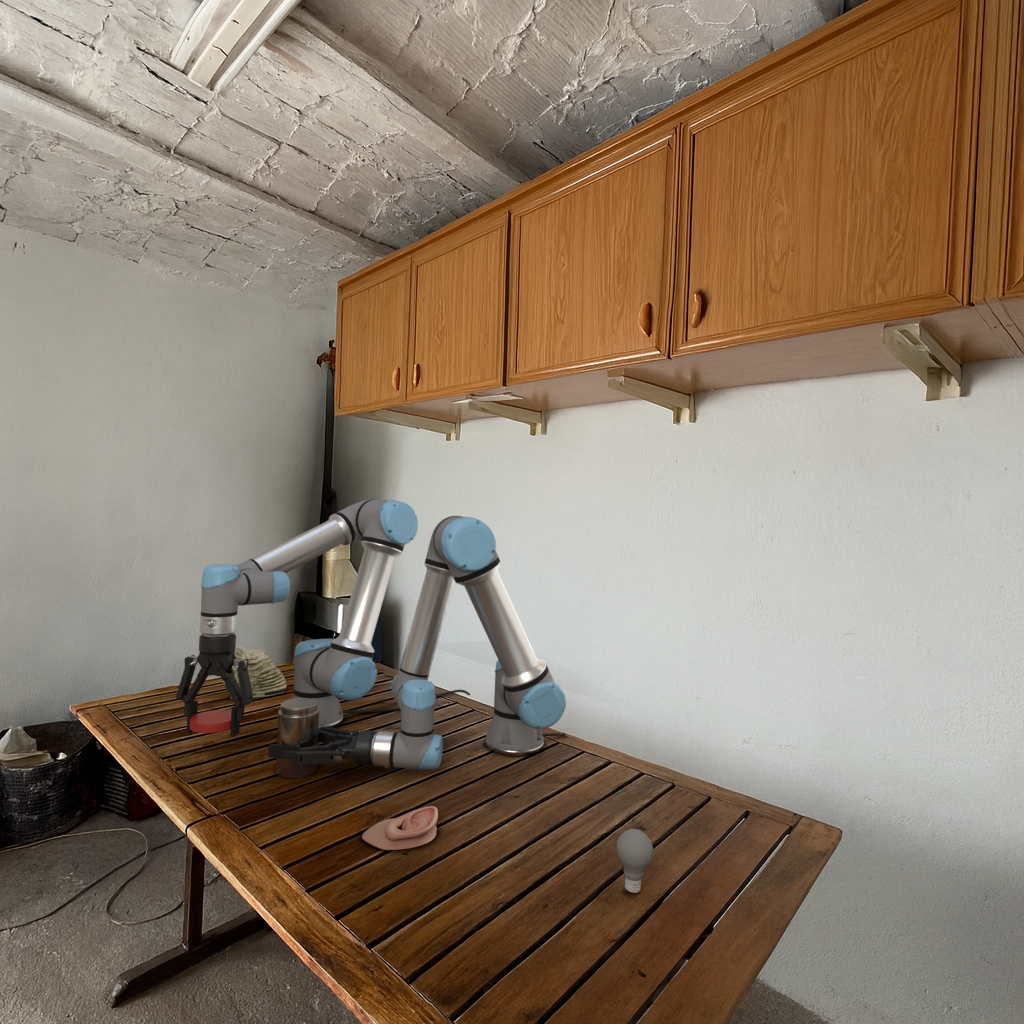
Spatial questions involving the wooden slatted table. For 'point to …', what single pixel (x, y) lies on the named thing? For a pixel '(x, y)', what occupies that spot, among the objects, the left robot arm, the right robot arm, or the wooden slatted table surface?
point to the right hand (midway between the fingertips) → (278, 742)
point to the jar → (297, 734)
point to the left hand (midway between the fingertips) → (213, 733)
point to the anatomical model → (404, 830)
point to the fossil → (260, 672)
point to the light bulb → (634, 857)
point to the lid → (211, 721)
